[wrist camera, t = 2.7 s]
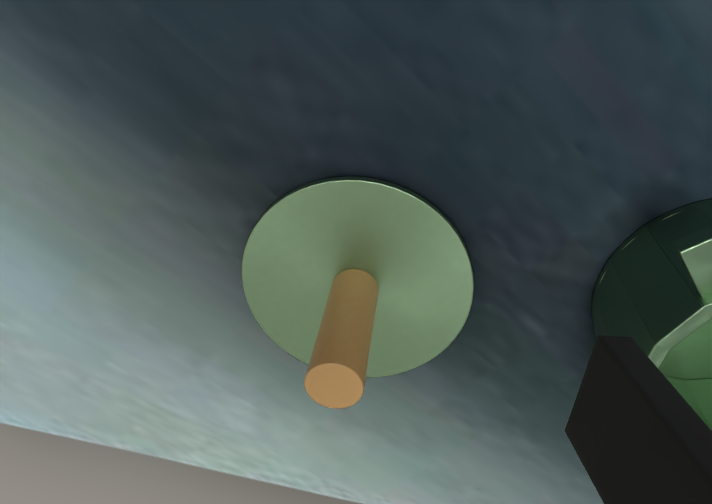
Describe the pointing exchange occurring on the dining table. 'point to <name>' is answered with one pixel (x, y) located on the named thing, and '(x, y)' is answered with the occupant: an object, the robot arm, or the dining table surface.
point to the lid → (356, 282)
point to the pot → (665, 299)
